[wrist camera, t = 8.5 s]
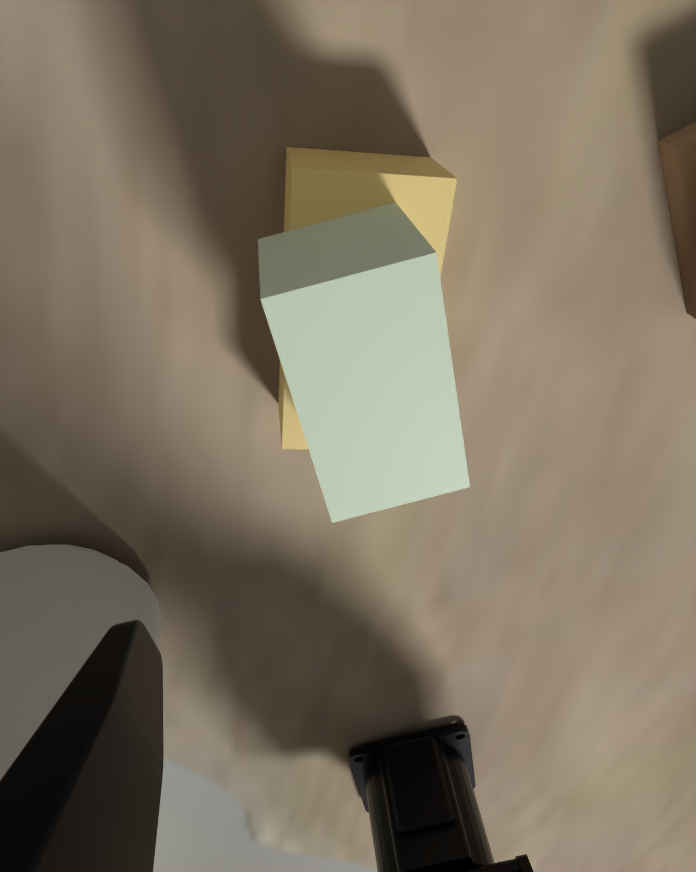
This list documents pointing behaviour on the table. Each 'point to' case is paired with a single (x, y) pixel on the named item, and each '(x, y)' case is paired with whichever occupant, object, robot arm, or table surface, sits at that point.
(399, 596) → the table surface
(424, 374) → the sage brick
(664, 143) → the walnut brick
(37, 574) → the can
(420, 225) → the ochre brick
